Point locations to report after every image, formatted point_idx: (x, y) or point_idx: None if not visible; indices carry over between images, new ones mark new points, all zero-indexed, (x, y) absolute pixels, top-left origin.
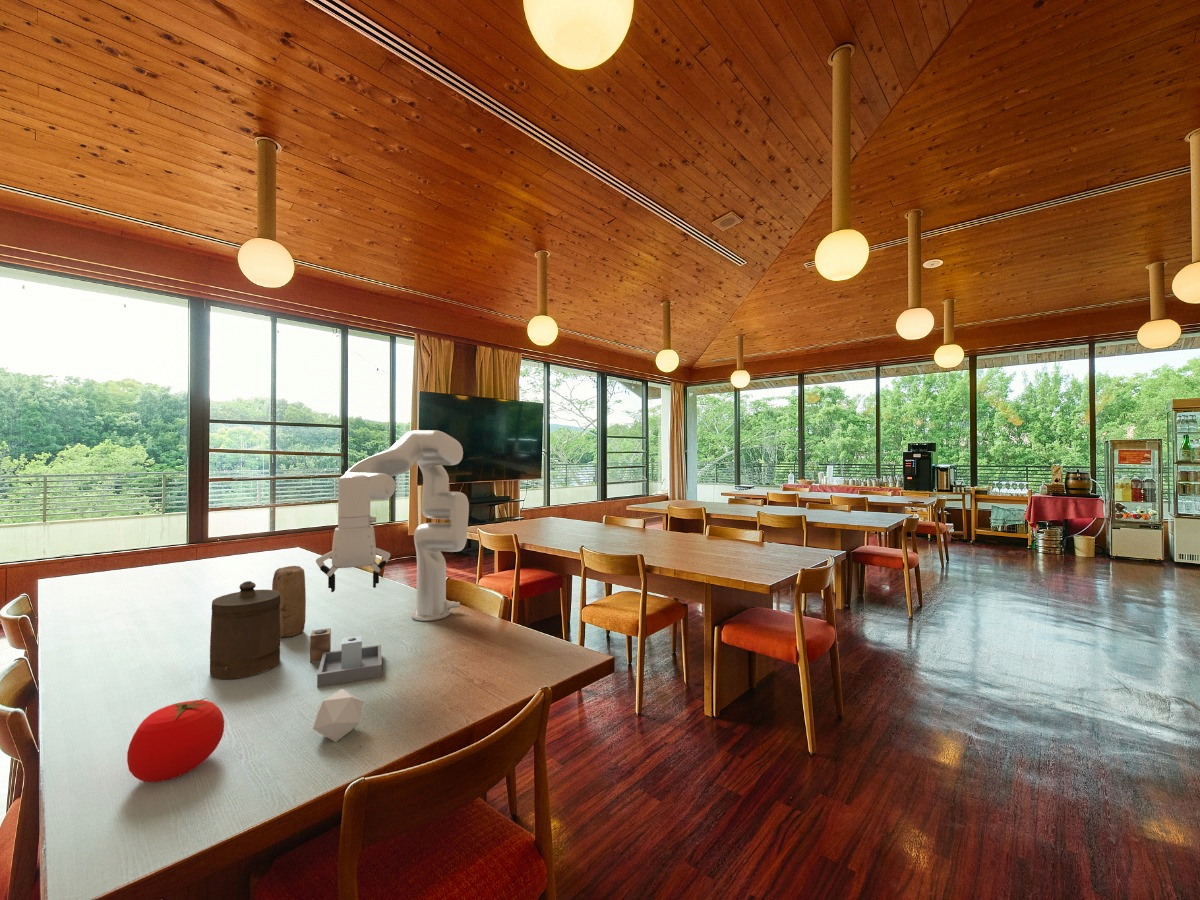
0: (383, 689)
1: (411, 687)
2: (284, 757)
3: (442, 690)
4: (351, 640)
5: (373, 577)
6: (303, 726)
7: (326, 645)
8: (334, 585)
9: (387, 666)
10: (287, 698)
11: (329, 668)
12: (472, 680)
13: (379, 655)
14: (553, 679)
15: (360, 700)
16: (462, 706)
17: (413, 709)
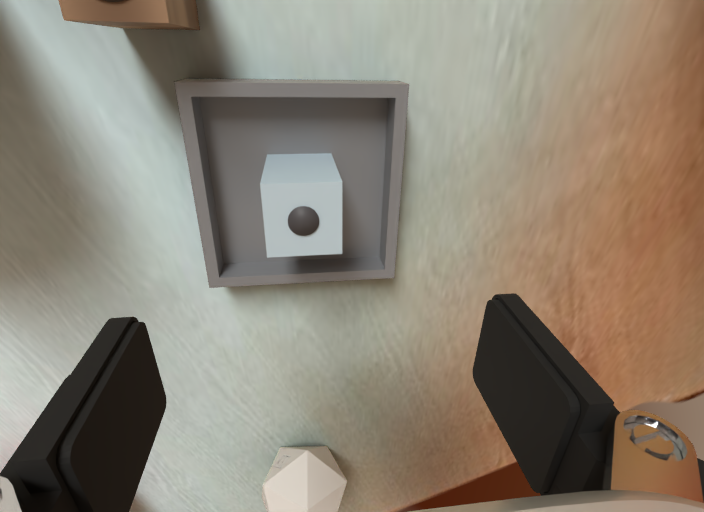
0: (385, 328)
1: (445, 337)
2: (228, 489)
3: None
4: (302, 236)
5: (516, 455)
6: (233, 424)
7: (171, 26)
8: (147, 436)
9: (408, 192)
10: (152, 306)
11: (226, 168)
12: (570, 343)
13: (393, 202)
14: (696, 381)
15: (342, 495)
16: None
17: (430, 416)
